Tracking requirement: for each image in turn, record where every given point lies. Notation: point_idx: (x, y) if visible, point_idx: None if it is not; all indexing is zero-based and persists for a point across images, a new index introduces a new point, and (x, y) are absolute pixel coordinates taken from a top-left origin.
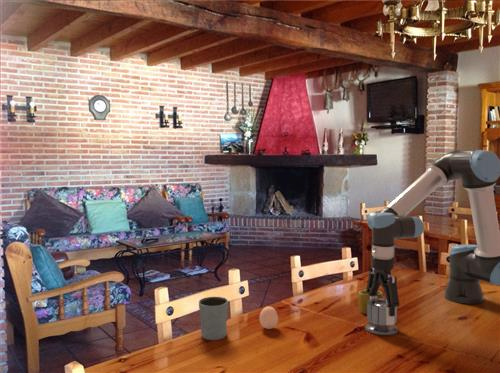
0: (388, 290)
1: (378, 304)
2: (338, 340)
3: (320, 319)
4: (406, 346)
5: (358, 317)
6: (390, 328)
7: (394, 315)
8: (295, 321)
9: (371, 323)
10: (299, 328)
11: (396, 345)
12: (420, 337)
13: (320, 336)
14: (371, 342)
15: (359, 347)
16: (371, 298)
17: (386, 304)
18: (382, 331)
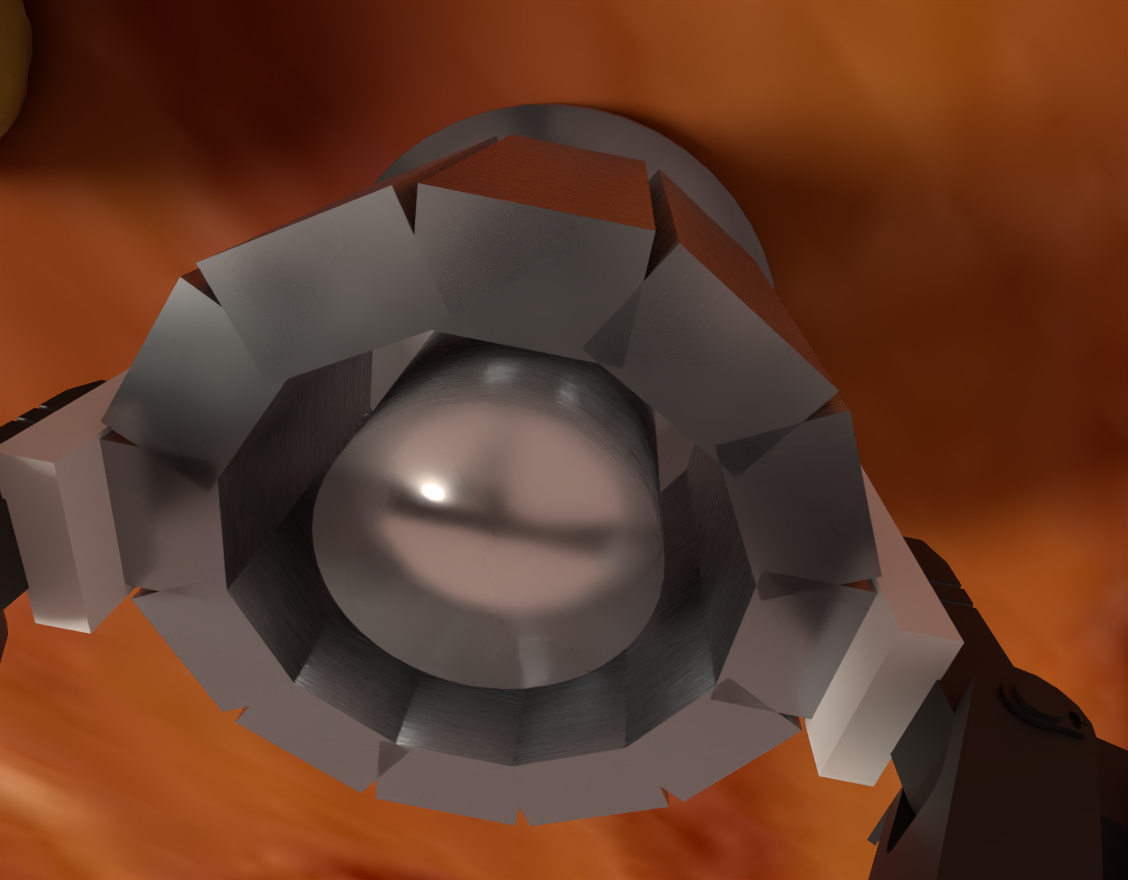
0: None
1: (447, 612)
2: None
3: (87, 679)
4: (1105, 443)
5: (78, 318)
6: None
7: (933, 552)
8: (106, 828)
9: (382, 377)
10: (254, 870)
11: (997, 515)
12: (1114, 10)
13: (449, 851)
14: None
15: (781, 778)
16: (114, 590)
17: (524, 468)
18: (668, 440)
